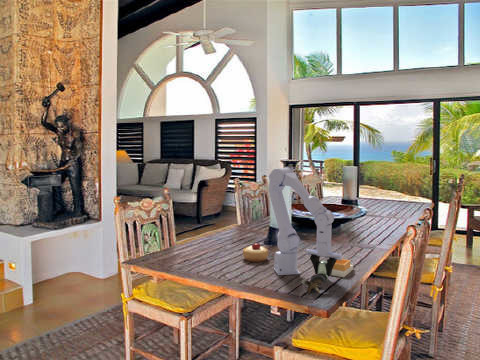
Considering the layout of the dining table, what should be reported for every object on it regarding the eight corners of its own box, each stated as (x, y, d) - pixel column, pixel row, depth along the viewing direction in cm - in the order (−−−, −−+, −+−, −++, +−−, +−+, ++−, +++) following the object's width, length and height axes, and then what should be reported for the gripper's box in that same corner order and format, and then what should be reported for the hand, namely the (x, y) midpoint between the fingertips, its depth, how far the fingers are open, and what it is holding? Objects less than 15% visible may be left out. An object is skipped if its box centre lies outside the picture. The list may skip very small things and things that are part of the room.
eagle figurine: (322, 294, 143) (332, 282, 150) (311, 277, 143) (321, 266, 151) (306, 300, 147) (316, 289, 154) (295, 283, 148) (306, 273, 155)
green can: (319, 281, 159) (320, 264, 158) (315, 277, 163) (316, 260, 162) (330, 280, 160) (330, 263, 159) (326, 277, 164) (326, 260, 163)
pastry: (266, 264, 181) (266, 245, 180) (240, 262, 184) (240, 243, 182) (269, 256, 193) (270, 238, 192) (245, 254, 195) (245, 236, 194)
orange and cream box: (343, 277, 164) (344, 266, 163) (322, 273, 168) (323, 262, 168) (353, 269, 174) (353, 259, 173) (332, 265, 178) (333, 255, 178)
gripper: (345, 241, 159) (344, 275, 161) (310, 236, 167) (310, 268, 168) (339, 245, 153) (338, 280, 155) (303, 240, 161) (303, 273, 163)
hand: (323, 274), depth 161 cm, fingers open, 5 cm apart
